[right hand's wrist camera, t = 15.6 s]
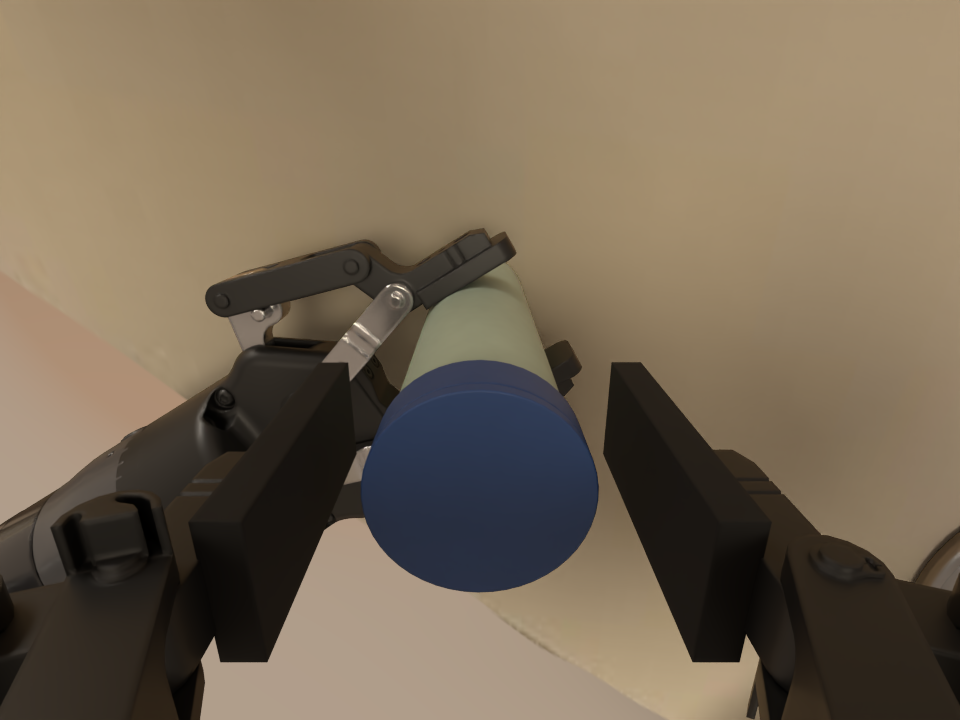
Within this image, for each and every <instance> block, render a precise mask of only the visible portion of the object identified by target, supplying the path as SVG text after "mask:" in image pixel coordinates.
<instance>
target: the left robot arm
mask: <svg viewBox="0 0 960 720" xmlns="http://www.w3.org/2000/svg"><path fill="white" fill-rule="evenodd" d="M515 255H516V251H515V248H514V246H513V245H512V243H511V241H510V239H509V238H508V236H507V234H506V232H502V233H500V234H498V235H496V236H494V237H493V238H491V239H490V237H489V236H488V234H487V232H486V231H485V229H484V228H482V229H476V230H471V231H468V232H467V233H465V234H463V235H462V236H460V237H459V238H457V239H456V240H454V241H452V242H451V243H449V244H448V245H446V246H444V247H443V248H441V249H440V250H438V251H436V252H435V253H433V254H432V255H430V256H428V257H427V258H425V259H424V260H422V261H420V262H419V263H417V264H415V265H413V266H400V265H397V264H395V263H394V262H392V261H391V260H390V259H388V258H387V257H386V256H385V255H383V254H382V253H381V251H380V249H379V247H378V246H377V245H376V244H375V243H374V242H372V241H370V240H360V241H356V242H352V243H348V244H345V245H341V246H337V247H334V248H330V249H326V250H322V251H319V252H315V253H311V254H307V255H304V256H300V257H296V258H293V259H289V260H285V261H281V262H278V263H274V264H270V265H267V266H263V267H259V268H255V269H252V270H248V271H244V272H242V273H239V274H237V275H235V276H232V277H230V278H228V279H226V280H223V281H221V282H219V283H217V284H215V285H213V286H211V287H210V288H209V289H208V290H207V292H206V295H205V300H206V304H207V306H208V308H209V309H210V310H211V311H212V312H213V313H214V314H216V315H218V316H220V317H228V319H229V321H230V323H231V325H232V328H233V330H234V332H235V335H236V337H237V339H238V341H239V344H240V346H241V348H242V350H243V352H242V353H241V354H240V355H239V356H238V357H237V359H236V361H235V363H234V366H233V368H232V370H231V372H230V373H229V375H227V376H226V377H224V378H222V379H221V380H219V381H218V382H216V383H214V384H213V385H211V386H210V387H208V388H206V389H205V390H203V391H202V392H200V393H199V394H197V395H195V396H194V397H192V398H191V399H189V400H187V401H186V402H184V403H183V404H181V405H179V406H178V407H176V408H175V409H173V410H172V411H170V412H168V413H167V414H165V415H163V416H162V417H160V418H159V419H157V420H156V421H154V422H152V423H151V424H149V425H148V426H145V427H142V428H140V429H138V430H136V431H134V432H132V433H130V434H128V435H127V436H125V437H124V439H123V440H121V442H120V443H119V444H117V445H116V446H114V447H112V448H111V449H109V450H108V451H106V452H104V453H103V454H101V455H100V456H99V457H97V458H96V459H94V460H93V461H92V462H91V463H89V464H88V465H87V466H86V467H85V468H83V469H82V470H81V471H80V472H79V473H77V474H76V475H75V476H74V477H73V478H72V479H71V480H70V481H69V482H67V483H66V484H65V485H63V486H62V487H61V488H59V489H57V490H56V491H54V492H52V493H51V494H49V495H48V496H46V497H44V498H43V499H41V500H40V501H38V502H37V503H35V504H33V505H32V506H30V507H28V508H27V509H25V510H23V511H21V512H20V513H18V514H16V515H15V516H13V517H12V518H10V519H8V520H7V521H5V522H4V523H2V524H1V525H0V575H2V577H3V580H4V582H5V585H6V587H7V590H8V592H9V593H13V592H18V591H22V590H27V589H32V588H36V587H41V586H46V585H51V584H55V583H60V582H63V581H64V580H65V578H66V573H65V570H64V567H63V564H62V561H61V558H60V555H59V552H58V549H57V546H56V543H55V540H54V538H53V535H52V532H51V529H50V527H51V526H52V525H53V524H54V523H55V522H56V521H57V520H58V519H59V517H60V516H61V515H63V514H65V513H66V512H68V511H69V510H71V509H73V508H74V507H76V506H77V505H79V504H82V503H84V502H86V501H89V500H91V499H94V498H96V497H98V496H102V495H106V494H110V493H114V492H118V491H126V490H144V491H150V492H153V493H155V494H156V495H157V496H159V497H160V498H161V502H162V506H163V510H165V509H166V507H167V506H168V505H169V504H170V503H171V502H172V501H173V500H174V499H175V498H176V497H177V496H180V492H181V491H182V490H183V489H184V488H185V487H186V486H187V485H188V484H189V483H191V482H192V479H193V478H194V477H195V476H196V475H197V474H198V473H199V472H200V470H201V469H202V468H203V467H204V466H205V465H206V464H208V463H210V462H211V461H213V460H215V459H216V458H218V457H220V456H221V455H223V454H225V453H226V452H246V451H247V450H248V449H249V447H250V446H251V445H252V444H253V442H254V441H255V440H256V439H257V438H258V436H259V435H260V434H261V433H262V432H263V430H264V429H265V428H266V427H267V425H268V424H269V423H270V422H271V421H272V419H273V418H274V417H275V416H276V414H277V413H278V412H279V411H280V410H281V408H282V407H283V406H284V405H285V404H286V402H287V401H288V400H289V399H290V397H291V396H292V395H293V394H294V393H295V391H296V390H297V389H298V388H299V386H300V385H301V384H302V383H303V382H304V380H305V379H306V378H307V377H308V376H309V374H310V373H311V372H312V371H313V369H314V368H315V367H316V366H317V365H318V363H319V362H348V365H349V376H350V387H351V397H352V408H353V419H354V430H355V441H356V451H357V454H356V457H355V459H354V461H353V464H352V466H351V468H350V471H349V473H348V475H347V478H346V480H345V482H344V485H343V487H342V489H341V492H340V494H339V496H338V499H337V501H336V503H335V506H334V508H333V510H332V513H331V515H330V517H329V520H328V522H327V524H326V527H325V529H326V528H328V527H329V526H331V525H332V524H334V523H335V522H337V521H339V520H343V519H348V518H364V517H365V516H364V513H363V509H362V502H361V479H362V472H363V468H364V465H365V462H366V459H367V456H368V454H369V451H370V449H371V446H372V443H373V441H374V438H375V435H376V433H377V430H378V428H379V425H380V423H381V420H382V418H383V416H384V414H385V412H386V410H387V408H388V407H389V405H390V404H391V403H392V401H393V400H394V398H395V397H396V396H397V395H398V394H399V393H400V392H399V391H398V390H397V389H396V388H395V387H393V386H392V385H391V384H390V383H389V382H388V380H387V378H386V375H385V373H384V370H383V367H382V365H381V363H380V362H379V360H378V359H377V358H376V356H375V355H374V353H375V352H376V351H377V349H378V348H379V347H380V345H381V344H382V343H383V342H384V341H385V339H386V338H387V337H388V336H389V335H390V334H391V333H392V331H393V330H394V329H395V328H396V327H397V326H398V325H399V323H400V322H401V321H402V320H403V319H404V318H405V317H406V315H407V314H408V313H409V312H411V311H412V310H414V309H416V308H417V307H419V306H420V305H422V304H423V305H424V307H425V308H426V310H427V309H429V308H430V307H432V306H434V305H435V304H437V303H439V302H440V301H442V300H444V299H445V298H446V297H448V296H450V295H452V294H454V293H455V292H457V291H459V290H460V289H462V288H464V287H465V286H467V285H468V284H470V283H472V282H473V281H475V280H477V279H478V278H480V277H482V276H483V275H485V274H487V273H488V272H490V271H492V270H493V269H495V268H497V267H498V266H500V265H502V264H503V263H505V262H507V261H508V260H509V259H511V258H512V257H513V256H515ZM350 285H355V286H356V287H357V288H359V289H360V290H361V291H363V292H364V293H366V294H367V295H368V296H370V297H371V298H372V299H374V300H373V301H372V302H371V303H370V304H369V306H368V307H367V308H366V309H365V310H364V311H363V313H362V314H361V315H360V316H359V317H358V319H357V320H356V321H355V322H354V323H353V325H352V326H351V327H350V328H349V329H348V330H347V332H346V333H345V334H344V335H343V336H342V338H341V339H340V340H339V341H338V342H334V341H321V340H308V339H295V338H282V337H273V333H272V329H273V326H274V324H276V323H277V322H279V321H280V320H281V319H283V318H284V317H285V316H286V315H287V314H288V313H289V311H290V301H292V300H296V299H300V298H304V297H308V296H312V295H315V294H319V293H323V292H327V291H331V290H335V289H338V288H342V287H346V286H350ZM544 351H545V354H546V357H547V359H548V362H549V365H550V368H551V371H552V374H553V376H554V379H555V382H556V385H557V388H558V391H559V393H560V394H561V395H562V396H565V395H566V394H567V393H568V391H569V390H570V389H571V388H572V387H573V386H574V384H573V382H572V380H571V378H572V377H574V376H575V375H576V374H578V373H579V372H580V370H581V368H582V366H581V364H580V362H579V360H578V358H577V356H576V355H575V353H574V351H573V349H572V348H571V346H570V344H569V342H568V341H566V340H565V341H560V342H558V343H556V344H554V345H552V346H550V347H549V348H547V349H545V350H544ZM325 529H324V530H325Z"/></svg>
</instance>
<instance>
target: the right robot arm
mask: <svg viewBox="0 0 960 720" xmlns="http://www.w3.org/2000/svg"><path fill="white" fill-rule="evenodd" d="M356 454H357V451H356V441H355V430H354V419H353V408H352V397H351V387H350V376H349V365H348V362H319V363H318V365H317V366H316V367H315V368H314V369H313V371H312V372H311V373H310V374H309V376H308V377H307V378H306V379H305V380H304V382H303V383H302V384H301V385H300V386H299V388H298V389H297V390H296V391H295V393H294V394H293V395H292V396H291V397H290V399H289V400H288V401H287V402H286V404H285V405H284V406H283V407H282V408H281V410H280V411H279V412H278V413H277V414H276V416H275V417H274V418H273V419H272V421H271V422H270V423H269V424H268V425H267V427H266V428H265V429H264V430H263V432H262V433H261V434H260V435H259V436H258V438H257V439H256V440H255V441H254V442H253V444H252V445H251V446H250V447H249V449H248V450H247V451H246V452H226V453H225V454H223V455H221V456H220V457H218V458H216V459H215V460H213V461H211V462H210V463H208V464H206V465H205V466H204V467H203V468H202V469H201V470H200V472H199V473H198V474H197V475H196V476H195V477H194V478H193V479H192V482H191V483H189V484H188V485H187V486H186V487H185V488H184V489H183V490H182V491H181V492H180V496H177V497H176V498H175V499H174V500H173V501H172V502H171V503H170V504H169V505H168V506H167V507H166V509H165V510H163V506H162V502H161V498H160V497H159V496H157V495H156V494H155V493H153V492H150V491H144V490H126V491H118V492H114V493H110V494H106V495H102V496H98V497H96V498H94V499H91V500H89V501H86V502H84V503H82V504H79V505H77V506H76V507H74V508H73V509H71V510H69V511H68V512H66V513H65V514H63V515H61V516H60V517H59V519H58V520H57V521H56V522H55V523H54V524H53V525H52V526H51V527H50V529H51V532H52V535H53V538H54V540H55V543H56V546H57V549H58V552H59V555H60V558H61V561H62V564H63V567H64V570H65V573H66V578H65V580H64V581H63V582H60V583H55V584H51V585H46V586H41V587H36V588H32V589H27V590H22V591H18V592H13V593H9V592H8V590H7V587H6V585H5V582H4V580H3V577H2V575H0V720H200V715H201V707H202V700H203V693H204V685H205V680H204V672H203V667H202V663H201V658H202V657H203V655H204V653H205V651H206V650H207V648H208V646H209V644H210V643H211V641H212V639H213V637H214V636H215V641H216V645H217V649H218V654H219V658H220V662H268V659H269V657H270V655H271V652H272V650H273V648H274V645H275V643H276V641H277V638H278V636H279V634H280V631H281V629H282V627H283V624H284V622H285V620H286V617H287V615H288V613H289V610H290V608H291V606H292V603H293V601H294V599H295V596H296V594H297V592H298V589H299V587H300V585H301V582H302V580H303V578H304V576H305V573H306V571H307V569H308V566H309V564H310V562H311V559H312V557H313V555H314V552H315V550H316V547H317V545H318V543H319V541H320V538H321V536H322V534H323V531H324V529H325V527H326V524H327V522H328V520H329V517H330V515H331V513H332V510H333V508H334V506H335V503H336V501H337V499H338V496H339V494H340V492H341V489H342V487H343V485H344V482H345V480H346V478H347V475H348V473H349V471H350V468H351V466H352V464H353V461H354V459H355V457H356ZM603 454H604V457H605V459H606V461H607V464H608V466H609V468H610V471H611V473H612V475H613V478H614V480H615V482H616V485H617V487H618V489H619V492H620V494H621V496H622V499H623V501H624V503H625V506H626V508H627V510H628V513H629V515H630V517H631V520H632V522H633V524H634V527H635V529H636V531H637V534H638V536H639V538H640V541H641V543H642V545H643V548H644V550H645V552H646V555H647V557H648V559H649V562H650V564H651V566H652V569H653V571H654V573H655V576H656V578H657V580H658V583H659V585H660V587H661V590H662V592H663V594H664V597H665V599H666V601H667V603H668V606H669V608H670V610H671V613H672V615H673V617H674V620H675V622H676V624H677V627H678V629H679V631H680V634H681V636H682V638H683V641H684V643H685V645H686V648H687V650H688V652H689V655H690V657H691V659H692V662H740V658H741V654H742V649H743V645H744V641H745V636H746V635H747V636H748V638H749V640H750V642H751V643H752V645H753V647H754V649H755V650H756V652H757V654H758V656H759V657H760V659H759V663H758V667H757V671H756V675H755V679H754V683H753V687H752V691H751V695H750V699H749V703H748V710H747V717H748V718H751V719H755V715H756V711H757V707H758V706H759V713H760V720H960V532H959V533H957V534H956V535H955V536H954V537H953V538H951V539H950V540H949V541H948V542H947V543H946V544H945V545H944V546H943V547H942V548H941V549H940V550H939V551H938V552H937V553H936V554H935V555H934V556H933V557H932V559H931V560H930V561H929V562H928V563H927V565H926V566H925V568H924V569H923V570H922V572H921V574H920V575H919V577H918V579H917V580H916V582H915V583H912V582H907V581H902V580H898V579H895V577H894V575H893V574H892V573H891V572H890V570H889V569H888V568H887V567H886V565H885V564H884V563H883V562H882V561H880V560H879V559H878V558H876V557H875V556H874V555H872V554H871V553H870V552H868V551H867V550H865V549H863V548H860V547H858V546H856V545H854V544H852V543H850V542H848V541H845V540H841V539H838V538H834V537H831V536H827V535H821V534H820V533H819V532H818V531H817V530H816V529H815V528H814V526H813V525H812V524H811V523H810V522H809V521H808V520H807V519H806V518H805V517H804V516H803V515H802V514H801V512H800V511H799V510H798V509H797V508H796V507H795V506H794V505H793V504H792V503H791V502H790V501H789V500H788V498H787V497H786V496H785V495H784V494H781V491H780V490H779V489H778V488H777V487H776V486H775V484H774V483H773V482H772V481H769V478H768V477H767V476H766V475H765V474H764V473H763V471H762V470H761V469H760V468H759V467H758V466H757V465H756V464H755V463H754V462H752V461H750V460H749V459H747V458H745V457H744V456H742V455H740V454H739V453H737V452H735V451H734V450H712V449H711V447H710V446H709V445H708V444H707V442H706V441H705V440H704V439H703V438H702V436H701V435H700V434H699V433H698V432H697V430H696V429H695V428H694V427H693V425H692V424H691V423H690V422H689V421H688V419H687V418H686V417H685V416H684V414H683V413H682V412H681V411H680V410H679V408H678V407H677V406H676V405H675V404H674V402H673V401H672V400H671V399H670V397H669V396H668V395H667V394H666V393H665V391H664V390H663V389H662V388H661V386H660V385H659V384H658V383H657V382H656V380H655V379H654V378H653V377H652V376H651V374H650V373H649V372H648V371H647V369H646V368H645V367H644V366H643V365H642V363H641V362H612V365H611V376H610V387H609V397H608V408H607V419H606V430H605V441H604V451H603Z"/></svg>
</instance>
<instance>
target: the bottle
mask: <svg viewBox="0 0 960 720" xmlns="http://www.w3.org/2000/svg"><path fill="white" fill-rule="evenodd" d="M467 360H490V361H499V362H504V363H509V364H512V365H515V366H518V367H521V368H524V369H526V370H528V371H530V372H532V373H534V374H536V375H538V376H539V377H541V378H542V379H544V380H545V381H547V382H548V383H550V384H551V385H552V386H553V387H554V388H555V389H556V390H558V388H557V385H556V382H555V379H554V376H553V374H552V371H551V368H550V365H549V362H548V359H547V357H546V354H545V351H544V348H543V345H542V342H541V340H540V337H539V334H538V331H537V328H536V325H535V323H534V320H533V317H532V314H531V311H530V308H529V306H528V303H527V300H526V297H525V294H524V291H523V289H522V286H521V283H520V280H519V278H518V276H517V275H516V273H515V272H514V271H513V269H512V268H511V267H510V266H509V265H507V264H506V263H503V264H502V265H500V266H498V267H497V268H495V269H493V270H492V271H490V272H488V273H487V274H485V275H483V276H482V277H480V278H478V279H477V280H475V281H473V282H472V283H470V284H468V285H467V286H465V287H464V288H462V289H460V290H459V291H457V292H455V293H454V294H452V295H450V296H448V297H446V298H445V299H444V300H442V301H440V302H439V303H437V304H435V305H434V306H432V307H430V309H429V311H428V314H427V317H426V320H425V323H424V326H423V328H422V331H421V334H420V337H419V340H418V343H417V345H416V348H415V351H414V354H413V357H412V360H411V362H410V365H409V368H408V371H407V374H406V377H405V379H404V382H403V385H402V388H401V391H402V390H403V389H404V388H405V387H406V386H407V385H409V384H410V383H411V382H412V381H414V380H415V379H417V378H418V377H420V376H422V375H423V374H425V373H427V372H429V371H431V370H433V369H436V368H438V367H441V366H444V365H447V364H451V363H455V362H461V361H467ZM401 391H400V392H401Z"/></svg>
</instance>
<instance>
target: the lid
mask: <svg viewBox="0 0 960 720" xmlns="http://www.w3.org/2000/svg"><path fill="white" fill-rule="evenodd" d="M598 491H599V486H598V477H597V472H596V468H595V464H594V461H593V458H592V456H591V453H590V450H589V448H588V445H587V443H586V440H585V438H584V435H583V432H582V430H581V427H580V425H579V422H578V420H577V418H576V416H575V413H574V411H573V410H572V408H571V407H570V405H569V404H568V402H567V401H566V400H565V398H564V397H563V396H562V395H561V394H560V393H559V391H558V390H556V389H555V388H554V387H553V386H552V385H551V384H550V383H548V382H547V381H545V380H544V379H542V378H541V377H539V376H538V375H536V374H534V373H532V372H530V371H528V370H526V369H524V368H521V367H518V366H515V365H512V364H509V363H504V362H499V361H490V360H467V361H461V362H455V363H451V364H447V365H444V366H441V367H438V368H436V369H433V370H431V371H429V372H427V373H425V374H423V375H422V376H420V377H418V378H417V379H415V380H414V381H412V382H411V383H410V384H409V385H407V386H406V387H405V388H404V389H403V390H402V391H401V392H400V393H399V394H398V395H397V396H396V397H395V398H394V400H393V401H392V403H391V404H390V405H389V407H388V408H387V410H386V412H385V414H384V416H383V418H382V420H381V423H380V425H379V428H378V430H377V433H376V435H375V438H374V441H373V443H372V446H371V449H370V451H369V454H368V456H367V459H366V462H365V465H364V468H363V472H362V479H361V502H362V509H363V513H364V516H365V519H366V522H367V525H368V527H369V529H370V531H371V533H372V535H373V537H374V538H375V540H376V541H377V543H378V544H379V546H380V547H381V548H382V549H383V551H384V552H385V553H386V554H387V555H388V556H389V557H390V558H391V559H392V560H393V561H394V562H395V563H397V564H398V565H399V566H400V567H402V568H403V569H405V570H406V571H408V572H409V573H410V574H412V575H414V576H416V577H418V578H420V579H422V580H424V581H426V582H429V583H431V584H434V585H437V586H440V587H444V588H447V589H452V590H458V591H464V592H494V591H501V590H507V589H511V588H515V587H519V586H522V585H525V584H528V583H530V582H533V581H535V580H537V579H539V578H541V577H543V576H545V575H547V574H548V573H550V572H552V571H553V570H555V569H556V568H558V567H559V566H560V565H561V564H562V563H564V562H565V561H566V560H567V559H568V558H569V557H570V556H571V555H572V554H573V553H574V552H575V551H576V550H577V549H578V547H579V546H580V544H581V543H582V542H583V540H584V539H585V537H586V535H587V533H588V531H589V529H590V527H591V525H592V522H593V519H594V517H595V514H596V509H597V504H598Z"/></svg>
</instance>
